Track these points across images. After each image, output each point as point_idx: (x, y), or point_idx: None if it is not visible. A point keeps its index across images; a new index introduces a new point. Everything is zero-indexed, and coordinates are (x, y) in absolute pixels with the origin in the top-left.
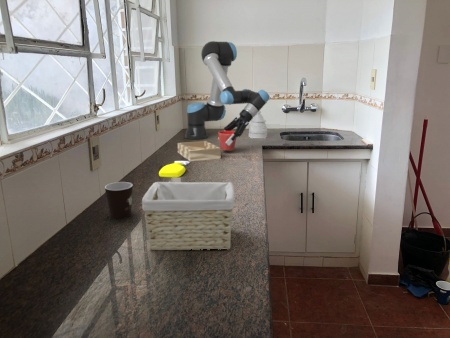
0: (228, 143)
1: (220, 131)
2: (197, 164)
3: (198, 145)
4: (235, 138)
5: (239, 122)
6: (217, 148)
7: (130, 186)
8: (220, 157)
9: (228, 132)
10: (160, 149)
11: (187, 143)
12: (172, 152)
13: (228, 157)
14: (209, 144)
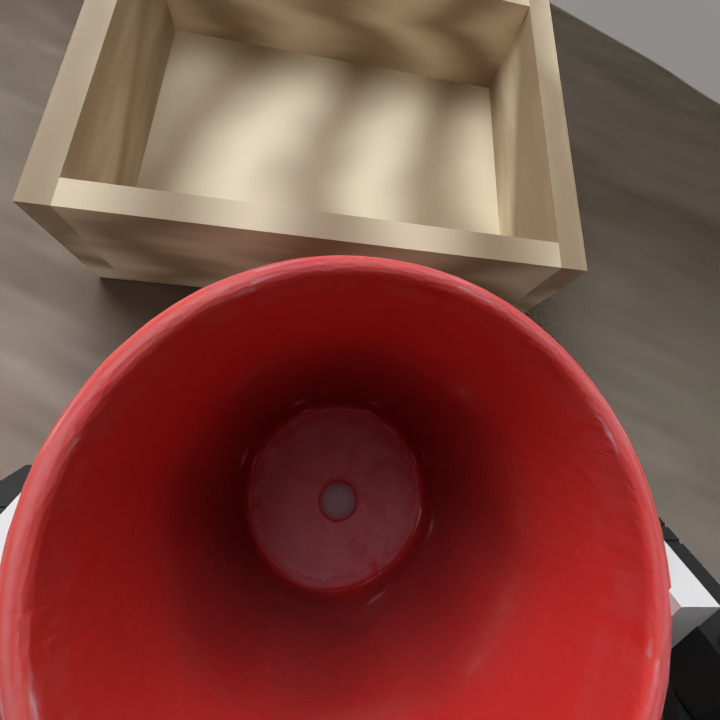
0: None
1: (593, 404)
2: (32, 25)
3: (523, 203)
4: None
5: None
6: (29, 160)
7: None
8: (93, 270)
9: (587, 683)
10: (638, 53)
11: (531, 73)
12: None
13: (81, 370)
14: (376, 223)
